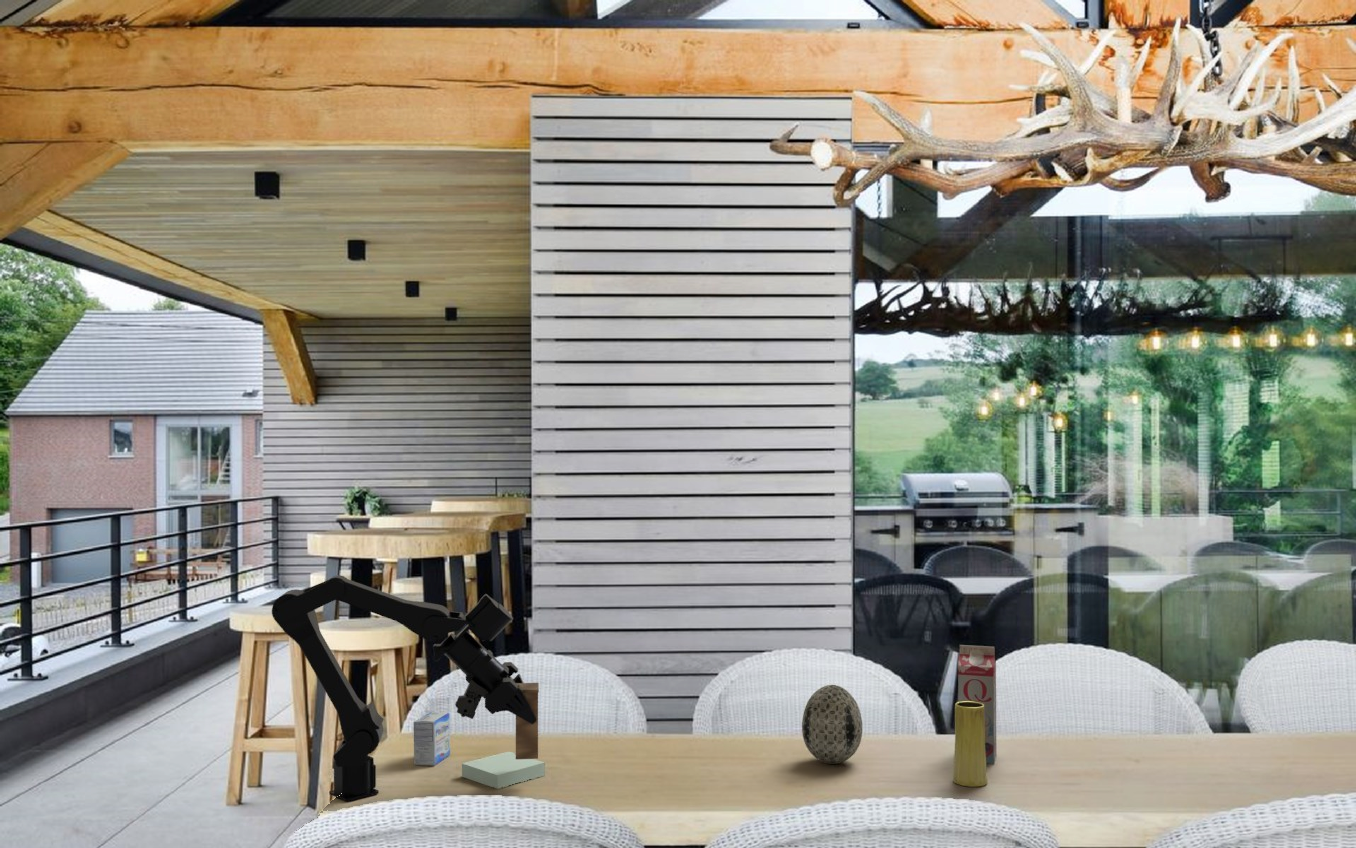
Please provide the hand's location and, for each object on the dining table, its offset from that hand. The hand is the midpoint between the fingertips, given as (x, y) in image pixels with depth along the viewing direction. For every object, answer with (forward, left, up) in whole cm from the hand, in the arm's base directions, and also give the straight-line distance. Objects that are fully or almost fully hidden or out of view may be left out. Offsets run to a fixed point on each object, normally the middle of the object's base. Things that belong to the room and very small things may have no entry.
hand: (534, 718), depth 214 cm
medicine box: (-3, +28, -13) cm, 31 cm away
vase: (+56, -57, -13) cm, 81 cm away
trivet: (0, +9, -12) cm, 15 cm away
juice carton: (+71, -50, -13) cm, 88 cm away
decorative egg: (+49, -31, -13) cm, 59 cm away
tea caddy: (-1, +1, -7) cm, 7 cm away
